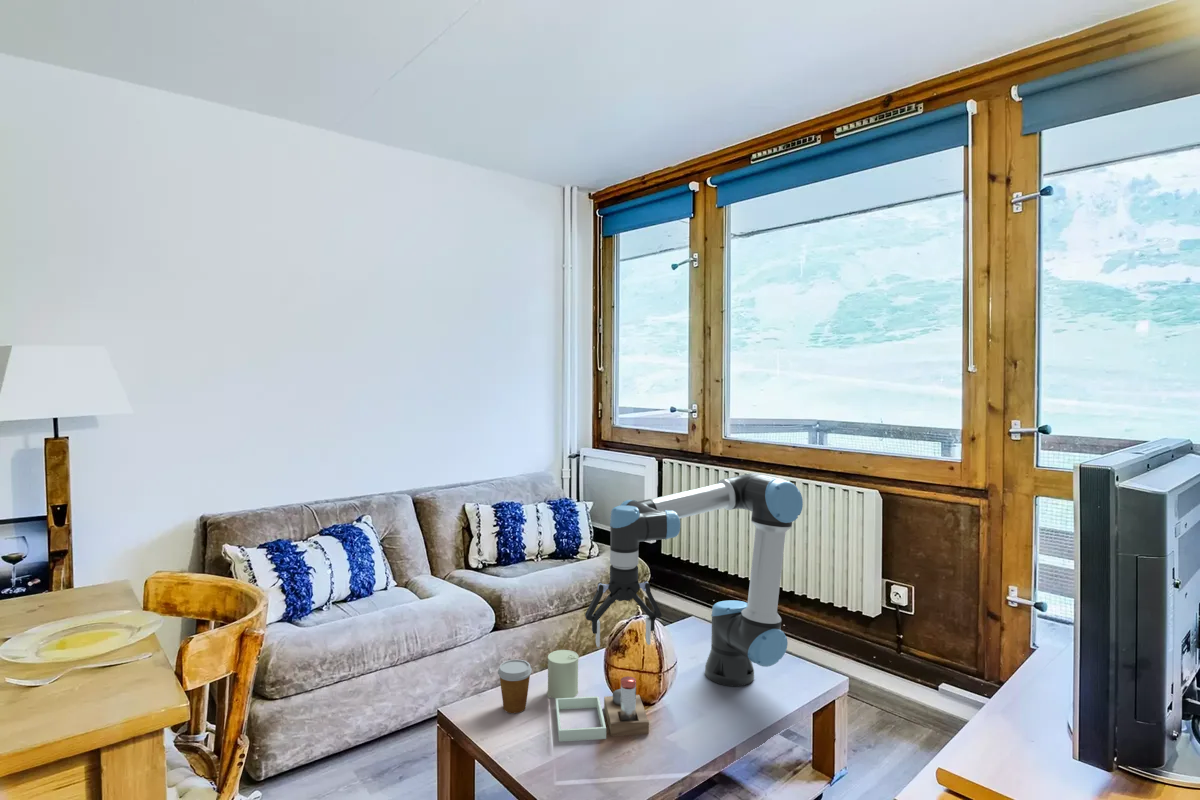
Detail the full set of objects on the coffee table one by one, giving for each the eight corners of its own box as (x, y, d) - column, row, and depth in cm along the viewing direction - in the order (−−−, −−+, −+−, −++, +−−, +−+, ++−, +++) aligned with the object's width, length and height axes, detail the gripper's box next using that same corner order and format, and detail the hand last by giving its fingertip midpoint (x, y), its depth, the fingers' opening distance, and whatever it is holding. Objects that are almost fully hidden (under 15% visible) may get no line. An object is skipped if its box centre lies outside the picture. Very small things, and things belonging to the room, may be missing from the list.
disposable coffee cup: (529, 716, 178) (530, 674, 177) (495, 716, 178) (495, 674, 177) (533, 699, 187) (533, 658, 187) (500, 698, 187) (500, 658, 187)
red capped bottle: (633, 723, 174) (634, 676, 173) (636, 731, 170) (637, 683, 169) (619, 724, 173) (619, 676, 173) (621, 732, 169) (622, 684, 169)
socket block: (648, 736, 169) (649, 710, 169) (610, 738, 168) (611, 712, 167) (639, 708, 183) (639, 684, 183) (604, 710, 182) (604, 686, 181)
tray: (555, 710, 181) (555, 698, 181) (598, 708, 183) (598, 696, 182) (558, 744, 165) (558, 730, 165) (606, 741, 167) (606, 728, 166)
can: (574, 704, 185) (574, 663, 184) (543, 700, 187) (543, 660, 186) (581, 688, 194) (582, 649, 193) (552, 685, 196) (552, 646, 195)
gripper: (666, 559, 176) (665, 635, 177) (575, 562, 173) (575, 639, 174) (673, 568, 169) (672, 647, 170) (578, 571, 165) (577, 652, 166)
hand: (623, 643), depth 172 cm, fingers open, 13 cm apart
